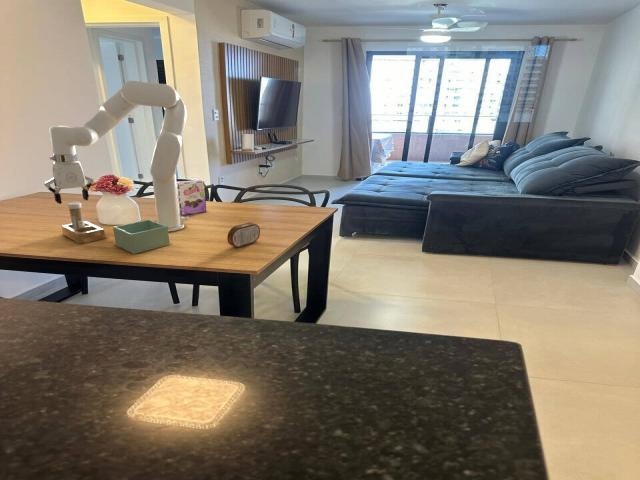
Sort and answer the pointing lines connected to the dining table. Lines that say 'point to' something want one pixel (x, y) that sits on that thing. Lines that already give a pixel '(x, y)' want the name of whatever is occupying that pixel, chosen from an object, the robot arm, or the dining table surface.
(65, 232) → the rack
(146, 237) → the basin
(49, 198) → the dining table surface
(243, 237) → the tin
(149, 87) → the robot arm
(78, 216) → the sprinkles bottle
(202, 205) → the candy box
